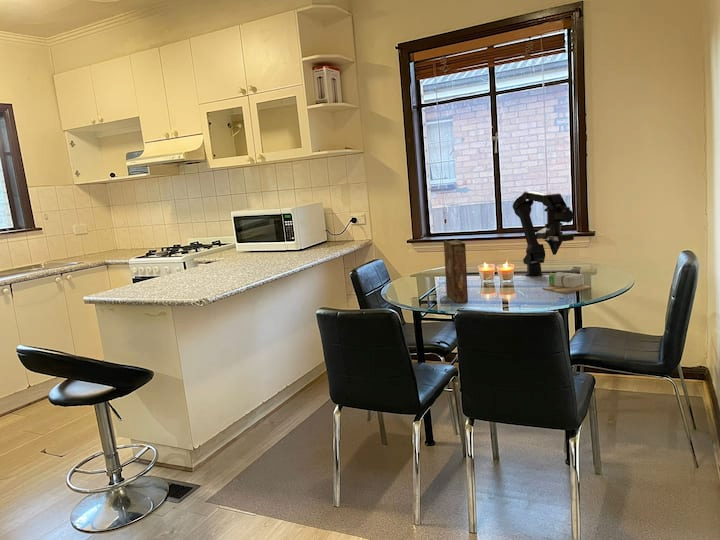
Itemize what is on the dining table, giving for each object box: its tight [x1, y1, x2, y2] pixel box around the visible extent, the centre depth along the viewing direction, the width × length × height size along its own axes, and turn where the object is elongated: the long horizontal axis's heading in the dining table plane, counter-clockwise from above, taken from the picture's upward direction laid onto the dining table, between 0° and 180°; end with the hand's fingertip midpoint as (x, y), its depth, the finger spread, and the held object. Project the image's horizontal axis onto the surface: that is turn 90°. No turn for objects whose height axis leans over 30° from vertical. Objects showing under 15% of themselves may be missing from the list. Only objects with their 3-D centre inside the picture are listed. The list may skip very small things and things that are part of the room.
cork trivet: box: [542, 285, 592, 295], centre depth 236 cm, size 13×15×1 cm
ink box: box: [548, 271, 584, 288], centre depth 239 cm, size 9×5×12 cm
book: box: [443, 239, 469, 304], centre depth 232 cm, size 16×6×25 cm, turn 5°
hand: (554, 254), depth 251 cm, fingers closed
